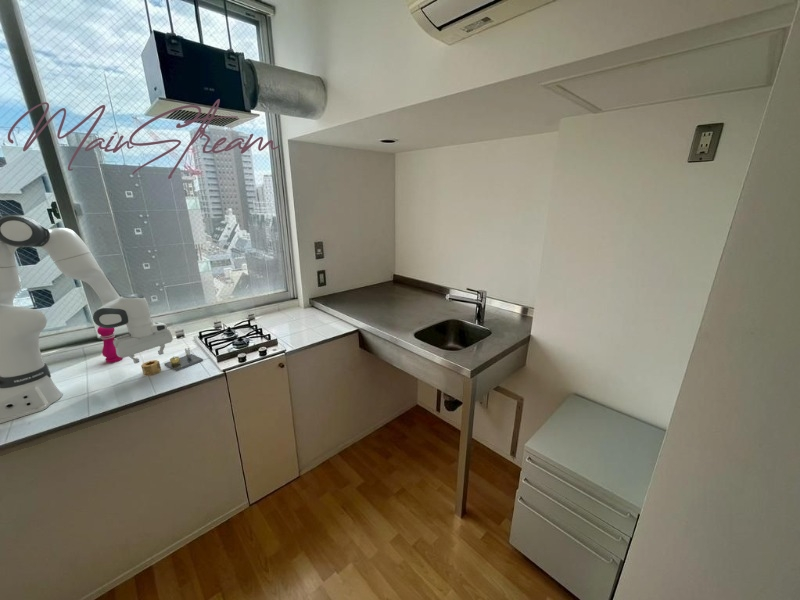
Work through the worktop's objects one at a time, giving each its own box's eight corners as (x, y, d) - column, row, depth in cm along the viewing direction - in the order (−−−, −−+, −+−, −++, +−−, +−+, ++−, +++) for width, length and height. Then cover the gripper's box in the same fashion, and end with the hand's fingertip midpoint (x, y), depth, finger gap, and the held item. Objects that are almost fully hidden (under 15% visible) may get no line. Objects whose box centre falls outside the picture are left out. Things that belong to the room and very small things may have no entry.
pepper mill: (112, 364, 151) (101, 325, 145) (100, 362, 152) (89, 324, 147) (128, 357, 158) (117, 319, 152) (116, 356, 159) (105, 318, 153)
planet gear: (147, 376, 140) (145, 367, 138) (141, 373, 142) (139, 364, 141) (163, 371, 144) (160, 362, 143) (156, 367, 147) (154, 359, 146)
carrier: (176, 371, 144) (173, 358, 142) (164, 365, 150) (161, 352, 148) (203, 360, 154) (200, 348, 152) (191, 355, 159) (188, 343, 158)
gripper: (115, 339, 128) (124, 370, 132) (170, 323, 144) (177, 351, 149) (108, 336, 131) (117, 366, 135) (164, 321, 148) (170, 348, 152)
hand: (149, 358), depth 142 cm, fingers open, 8 cm apart
